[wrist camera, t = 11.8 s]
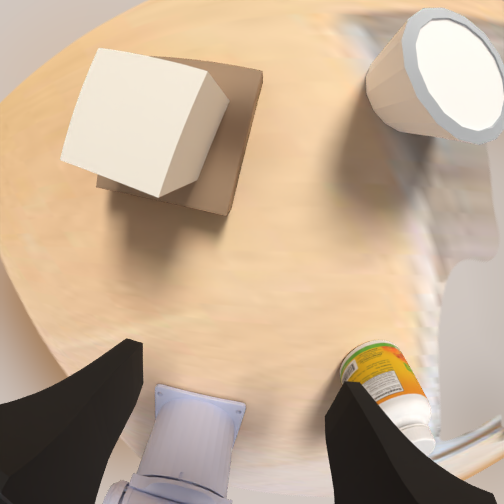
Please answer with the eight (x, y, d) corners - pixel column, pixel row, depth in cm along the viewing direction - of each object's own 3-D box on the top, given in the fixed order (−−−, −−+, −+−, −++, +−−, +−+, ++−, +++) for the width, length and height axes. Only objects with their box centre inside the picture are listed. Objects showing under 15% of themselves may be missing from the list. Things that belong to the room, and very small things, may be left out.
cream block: (197, 180, 15) (158, 197, 10) (125, 153, 15) (60, 159, 9) (229, 101, 14) (207, 71, 8) (153, 78, 13) (98, 47, 8)
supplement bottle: (404, 370, 22) (445, 455, 13) (348, 395, 23) (371, 487, 14) (393, 326, 20) (447, 418, 11) (330, 355, 21) (356, 459, 12)
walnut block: (232, 206, 19) (226, 216, 16) (118, 181, 18) (96, 187, 15) (263, 83, 16) (262, 70, 13) (143, 67, 16) (124, 55, 13)
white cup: (368, 147, 16) (422, 148, 10) (344, 45, 14) (382, -3, 8) (453, 140, 16) (522, 144, 9) (432, 48, 14) (491, 19, 7)
